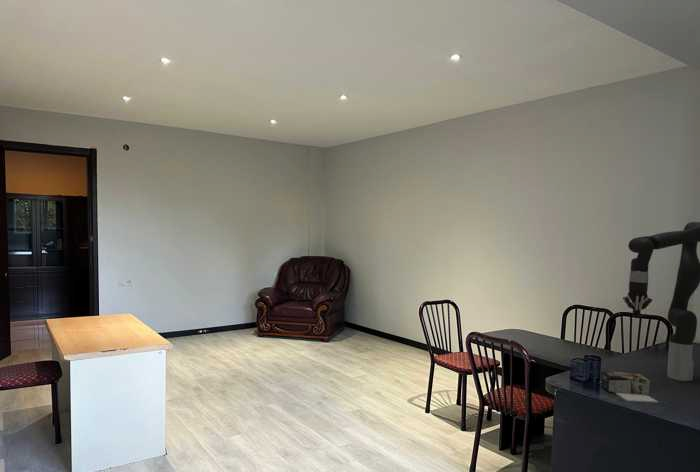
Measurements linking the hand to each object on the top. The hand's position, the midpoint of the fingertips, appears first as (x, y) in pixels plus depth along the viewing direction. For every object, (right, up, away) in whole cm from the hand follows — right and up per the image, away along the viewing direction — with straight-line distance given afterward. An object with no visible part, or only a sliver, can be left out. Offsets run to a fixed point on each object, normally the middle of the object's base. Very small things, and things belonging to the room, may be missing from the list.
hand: (636, 317), depth 224 cm
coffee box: (-7, -26, -18) cm, 32 cm away
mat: (-15, -29, -18) cm, 37 cm away
